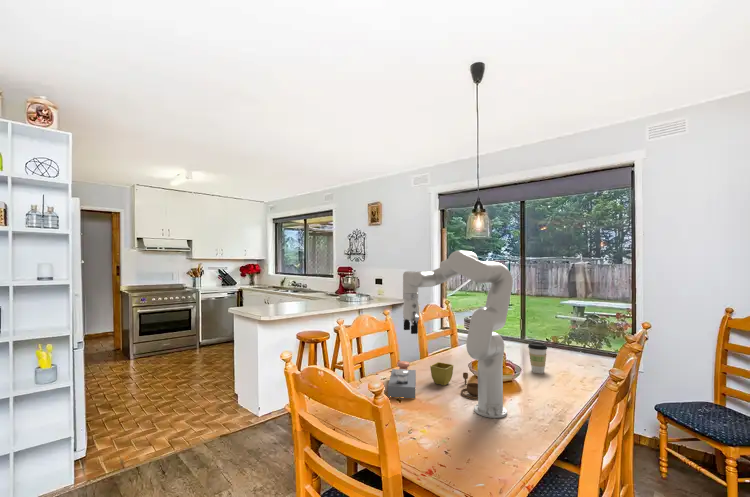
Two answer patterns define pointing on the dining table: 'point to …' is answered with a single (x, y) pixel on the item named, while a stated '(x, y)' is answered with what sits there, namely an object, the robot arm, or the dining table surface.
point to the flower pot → (441, 373)
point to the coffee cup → (537, 356)
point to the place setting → (470, 388)
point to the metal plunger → (402, 376)
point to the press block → (402, 385)
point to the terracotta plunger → (403, 364)
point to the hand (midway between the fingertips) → (410, 331)
